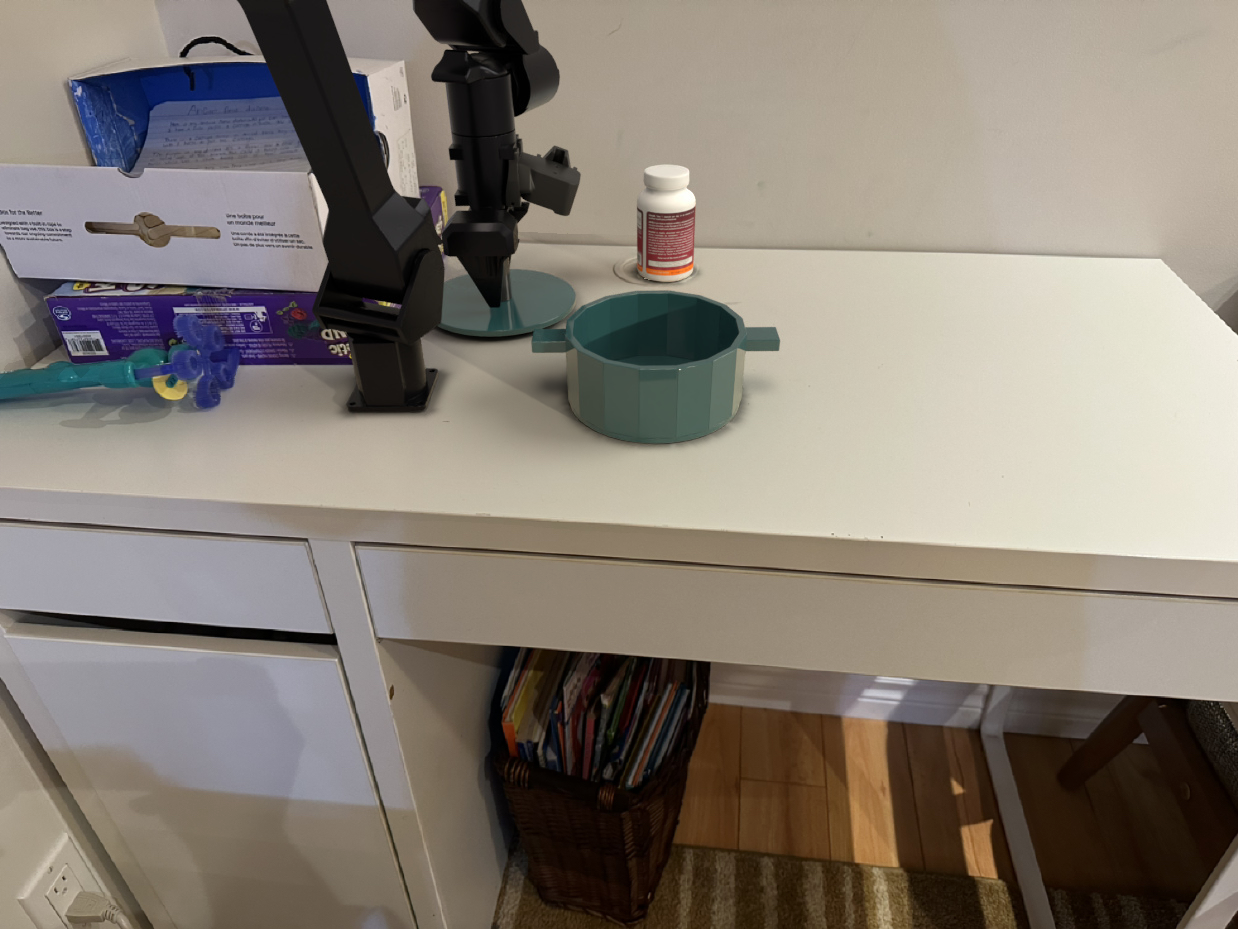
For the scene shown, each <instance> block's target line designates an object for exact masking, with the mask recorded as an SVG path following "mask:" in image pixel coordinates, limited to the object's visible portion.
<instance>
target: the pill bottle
mask: <svg viewBox="0 0 1238 929" xmlns="http://www.w3.org/2000/svg"><path fill="white" fill-rule="evenodd" d="M689 184H690V170H689V168H688V167H685V166H682V165H679V164H678V165H677V164H656V165H651V166H647V167H646V168H645V169H644V170H643V185H644V186H645V187H646V188H644V189H643V190H642V191H641V192H640V193H639V194H638V195H637V199H636V268H637V272H638V274H639V275H640V276H641V277H643V278H645V279H646V280H650V281H654V282H663V283H669V282H678V281H682V280H685V279H686V278H688V277H689V276H690V275H692V273H693V271H694V263H695V262H694V260H695V233H696V232H695V231H696V211H697V210H696V206H697V204H696V202H697V200H696V196H695V194H694V192H692V191H691V190H690V189H688V186H689Z"/></svg>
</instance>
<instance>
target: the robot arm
mask: <svg viewBox="0 0 1238 929" xmlns="http://www.w3.org/2000/svg"><path fill="white" fill-rule="evenodd" d="M236 1H237V3H238V4H239V6H240V7H241V9H242V11H243V13H244V15H245V17H246V20H247V22H248V25H249V27H250V29H251V31H252V34H253V36H254V38H255V41H256V43H257V45H258V48H259V50H260V52H261V54H262V57H263V59H264V61H265V63H266V67H267V68H268V70H269V73H270V75H271V78H272V80H273V82H274V85H275V87H276V89H277V92H278V95H279V97H280V98H281V101H282V104H283V106H284V107H285V110H286V113H287V115H288V117H289V119H290V122H291V124H292V127H293V129H294V132H295V134H296V136H297V138H298V141H299V142H300V145H301V147H302V151H303V152H304V154H305V157H306V159H307V161H308V164H309V166H310V168H311V171H312V173H313V175H314V178H315V180H316V182H317V185H318V188H319V189H320V191H321V194H322V196H323V199H324V201H325V203H326V206H327V216H326V219H325V225H324V228H323V235H322V240H321V242H322V246H323V249H324V253H325V257H326V259H327V265H326V267H325V270H324V273H323V276H322V279H321V282H320V285H319V288H318V291H317V293H316V296H315V299H314V302H313V305H312V309H311V312H312V314H313V316H314V319H316V321H317V323H318V325H319V326H320V328H321V329H322V330H327V331H329V330H332V331H338V332H342V333H345V334H346V339H347V343H348V348H349V352H350V356H351V362H352V366H353V371H354V375H355V381H356V385H355V387H354V389H353V391H352V393H351V395H350V396H349V399H348V400H347V402H346V405H345V406H346V409H347V411H348V412H419V411H424V410H426V409H427V407H428V405H429V403H430V399H431V396H432V394H433V392H434V389H435V386H436V383H437V380H438V377H439V369H438V368H434V367H433V368H432V367H430V368H429V367H428V368H427V367H426V364H425V363H426V362H425V357H424V351H423V344H422V338H423V337H424V336H427V334H428V333H430V332H432V330H434V329H435V328H437V327H438V325H439V324H440V323H441V320H442V304H443V289H444V282H445V275H446V274H445V270H446V269H445V262H444V259H443V256H442V254H443V255H444V256H446V257H449V258H455V257H456V259H457V260H458V261H459V263H460V264H461V266H462V267H463V268H464V270H465V271H466V274H469V276H470V277H471V279H472V280H473V282H474V283H475V285H476V287H477V288H478V290H479V291H480V293H481V295H482V296H483V298H484V299H485V301H486V303H487V304H488V306H489V307H491V308H499V307H500V306H501V299H502V289H503V277H504V266H505V260H506V259H507V258H508V257H509V266H510V267H511V262H512V255H515V254H516V252H517V250H518V248H519V243H520V241H521V240H520V238H519V226H518V224H519V223H520V221H522V219H523V218H524V217H525V216H526V215H527V214H528V212H529V209H530V206H531V204H533V205H536V206H539V207H542V208H545V209H547V210H550V211H553V213H554V214H556V215H559V216H562V217H568V216H570V214H571V211H572V209H573V205H574V201H575V199H576V196H577V192H578V191H579V190H578V189H579V187H580V183H581V176H582V174H581V172H580V171H579V170H578V167H576V166H573V167H571V166H572V164H571V158H570V154H569V150H568V149H566V148H563V147H560V146H558V145H553V146H552V147H551V148H550V149H549V150H548V151H547V152H546V153H545V154H544V155H543V156H542V154H540V153H536V155H534V154H530V153H527V152H524V143H523V138H520V134H519V133H516V121H515V118H516V117H520V116H522V115H524V114H526V113H528V112H530V111H533V110H535V109H537V108H539V107H541V106H543V105H546V104H548V103H549V102H550V101H551V100H553V99H554V98H555V96H556V94H557V93H558V90H559V86H560V80H561V74H560V69H559V68H558V65H557V63H556V60H555V59H554V56H553V55H552V53H551V52H550V51H549V50H548V49H547V48H546V47H544V46H543V45H542V44H541V43H540V38H539V31H538V30H537V29H534V27H533V24H532V22H531V20H530V18H529V15H528V12H527V10H526V8H525V5H524V2H523V0H412V10H413V12H414V14H415V16H416V17H417V19H418V20H419V21H420V23H421V24H422V25H423V27H424V28H425V29H426V30H427V32H428V33H429V34H430V36H431V38H432V39H433V40H434V41H435V42H437V43H439V44H441V45H447V46H449V47H450V49H448V48H447V49H444V51H443V54H442V57H441V58H440V60H439V61H438V63H437V64H436V65H435V66H434V68H432V69H433V70H432V72H431V74H430V78H431V81H432V82H433V83H444V85H445V92H446V100H447V108H448V117H449V125H450V133H451V134H450V135H451V144H450V145H449V146H448V156H449V161H454V167H455V175H456V183H457V184H456V185H457V189H456V191H455V193H454V195H453V197H454V198H453V199H454V204H455V207H468V210H456V211H455V212H454V213H453V215H452V216H451V217H450V218H449V219H448V220H447V222H446V223H445V226H444V227H443V230H442V231H441V233H440V235H441V236H440V235H439V234H438V232H437V228H436V227H435V222H434V218H433V213H432V209H431V207H430V206H429V204H428V202H427V201H426V200H425V198H422V197H413V196H408V195H407V196H406V195H401V194H400V193H399V192H398V191H397V190H396V188H395V187H394V185H393V183H392V181H391V178H390V175H389V171H388V168H387V166H386V163H385V160H384V158H383V155H382V152H381V148H380V147H379V144H378V141H377V138H376V135H375V132H374V130H373V126H372V124H371V121H370V117H369V116H368V113H367V110H366V106H365V105H364V104H365V103H364V101H363V99H362V96H361V92H360V91H359V87H358V85H357V81H356V78H355V76H354V73H353V71H352V68H351V65H350V62H349V60H348V56H347V53H346V51H345V48H344V45H343V42H342V39H341V37H340V33H339V32H338V28H337V26H336V23H335V20H334V17H333V14H332V12H331V9H330V7H329V3H328V1H327V0H236ZM469 52H470V53H469ZM522 200H523V201H522ZM441 245H442V250H443V253H442V251H441V249H440V247H439V246H441ZM364 299H366V300H372V301H378V302H382V303H388V304H394V305H399V306H400V307H394V306H388V305H385V304H384V305H383V304H378V303H372V302H366V301H363V300H364Z"/></svg>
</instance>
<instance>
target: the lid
mask: <svg viewBox="0 0 1238 929" xmlns="http://www.w3.org/2000/svg"><path fill="white" fill-rule="evenodd" d="M576 304H577V293H576V291H575V289H574V287H573V286H572V285H571V284H570V283H569V282H567V280H565V279H563V278H561V277H559V276H556V275H554V274H551V273H547V272H543V271H537V270H532V269H519V268H511V265H510V266H509V257H508V258H507V259H506V260H505V266H504V277H503V289H502V299H501V306H500V307H499V308H491V307H489V306H488V304H487V303H486V301H485V299H484V298H483V296H482V295H481V293H480V291H479V290H478V288H477V287H476V285H475V283H474V282H473V280H472V279H471V277H470V276H469V274H468V273H466V274H463V275H459V276H456V277H454V278H450V279H449V280H446V281H444V289H443V304H442V320H441V323H440V324H439V325H438V326H437V327H438V328H440V329H442V330H445V331H448V332H451V333H455V334H459V335H464V336H470V337H471V336H472V337H473V336H474V337H508V336H517V335H521V334H528V333H533V332H534V329H546V328H548V327H551V326H553V325H555V324H557V323H559V322H561V321H562V320H564V319H565V318H566V317H567V316H569V315H570V314H571V313H572V312H573V311H574V308H575V307H576Z"/></svg>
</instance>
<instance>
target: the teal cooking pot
mask: <svg viewBox="0 0 1238 929" xmlns="http://www.w3.org/2000/svg"><path fill="white" fill-rule="evenodd" d="M531 338H532V339H531V343H530V344H531V353H532V354H552V353H553V354H557V353H559V354H562V353H563V354H565V363H566V381H567V382H566V383H567V384H566V385H567V400H568V402H569V406H570V409H571V411H572V412H573V414H574V416H575V417H576V418H577V419H578V420H579V421H580V422H581V423H582V424H583V425H585V426H586V427H588V428H590V429H592V430H593V431H594V432H597V433H599V434H601V435H604V436H607V437H609V438H612V439H618V440H620V441H624V442H625V441H626V442H629V443H637V444H652V445H653V444H657V445H659V444H673V443H682V442H686V441H692V440H695V439H698V438H702V437H705V436H708V435H710V434H713V433H714V432H716V431H718V430H720V429H722V428H723V427H724V426H726V425H727V424H729V423H730V422H731V421H732V420H733V419H734V417H735V416H736V414H737V412H738V410H739V408H740V403H741V401H742V399H743V386H744V375H745V361H746V352H779V351H780V346H781V339H780V336H779V332H778V330H777V326H746V325H745V322H744V318H743V317H742V316H741V315H739V314H738V313H737V312H736V311H735V310H733V309H732V308H731V307H730V306H728V305H727V304H725V303H723V302H720V301H718V300H714V299H712V298H709V297H706V296H704V295H700V294H696V293H688V292H684V291H683V292H681V291H675V290H669V289H668V290H667V289H666V290H662V289H661V290H660V289H659V290H633V291H627V292H620V293H615V294H610V295H605V296H602V297H600V298H598V299H595V300H593V301H591V302H588V303H585V304H583V305H581V306H580V307H579V308H578V309H577V310H576V311H574V312H573V313H572V314H571V315H570V316H568V318H567V319H566V323H565V328H543V329H534V331H532V337H531Z"/></svg>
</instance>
